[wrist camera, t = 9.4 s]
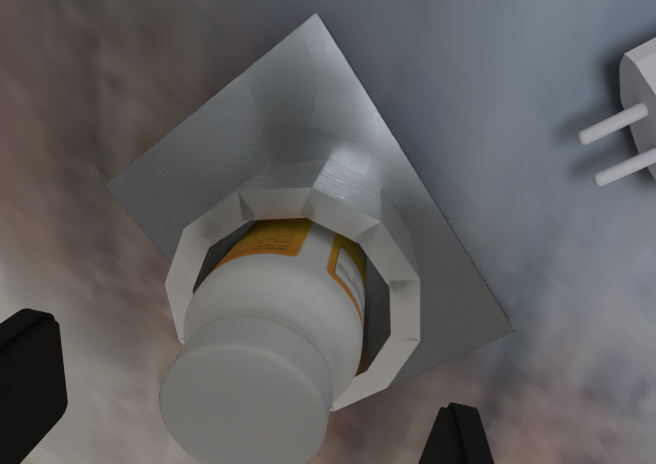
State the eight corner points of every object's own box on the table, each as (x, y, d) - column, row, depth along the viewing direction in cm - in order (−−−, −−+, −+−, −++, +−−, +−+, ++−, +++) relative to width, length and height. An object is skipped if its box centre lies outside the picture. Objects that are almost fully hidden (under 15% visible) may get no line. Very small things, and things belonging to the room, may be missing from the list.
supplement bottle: (233, 271, 19) (101, 443, 10) (278, 172, 17) (167, 273, 8) (333, 321, 19) (295, 532, 10) (389, 230, 17) (404, 390, 8)
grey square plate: (117, 180, 19) (22, 217, 14) (320, 16, 16) (291, -14, 10) (309, 408, 23) (289, 503, 18) (508, 318, 19) (554, 405, 14)
